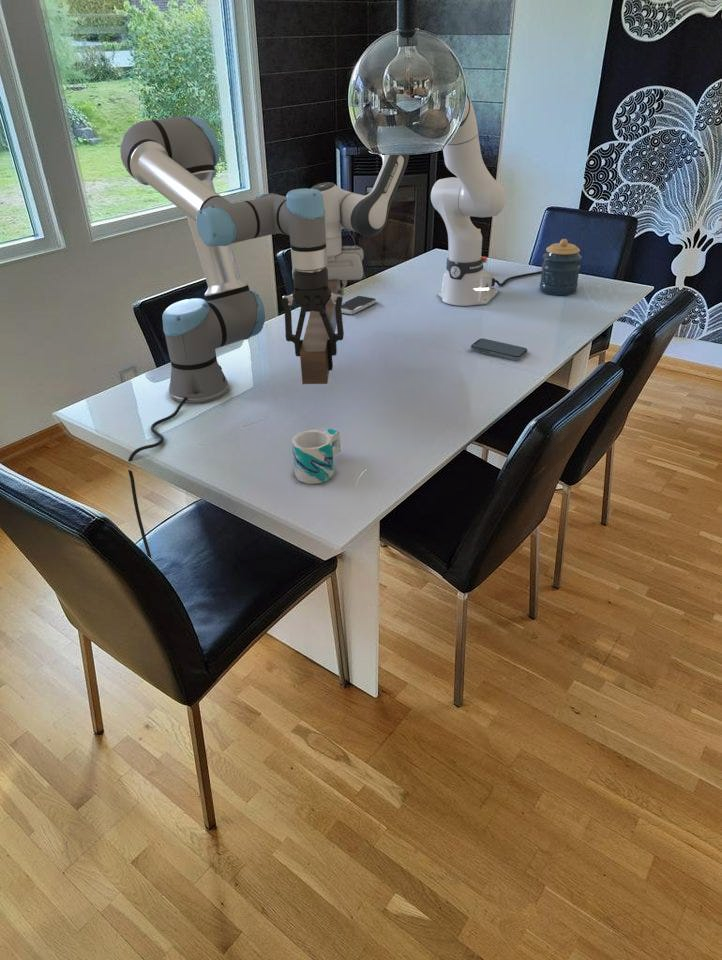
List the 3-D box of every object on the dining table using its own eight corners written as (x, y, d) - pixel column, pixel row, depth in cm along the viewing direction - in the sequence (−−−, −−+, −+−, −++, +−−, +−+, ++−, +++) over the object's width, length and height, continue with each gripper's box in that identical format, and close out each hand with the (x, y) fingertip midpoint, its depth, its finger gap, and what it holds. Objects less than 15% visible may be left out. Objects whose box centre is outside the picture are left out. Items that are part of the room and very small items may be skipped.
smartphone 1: (376, 298, 233) (351, 311, 223) (376, 302, 234) (352, 315, 224) (358, 295, 237) (333, 307, 227) (358, 299, 238) (333, 311, 228)
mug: (287, 476, 140) (283, 442, 136) (320, 451, 149) (318, 418, 144) (319, 487, 137) (316, 452, 132) (351, 460, 145) (350, 426, 140)
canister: (550, 297, 232) (557, 245, 222) (532, 287, 242) (537, 236, 233) (584, 293, 235) (591, 241, 225) (564, 283, 245) (571, 233, 236)
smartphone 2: (518, 357, 186) (469, 345, 193) (518, 362, 187) (469, 351, 194) (528, 347, 191) (480, 337, 198) (528, 353, 192) (480, 342, 199)
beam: (327, 383, 150) (325, 351, 146) (302, 384, 151) (299, 351, 146) (340, 296, 203) (339, 270, 198) (322, 296, 203) (320, 270, 199)
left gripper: (353, 262, 146) (357, 361, 159) (269, 264, 147) (279, 362, 160) (353, 271, 140) (356, 374, 153) (264, 274, 141) (275, 375, 153)
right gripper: (363, 242, 190) (365, 290, 197) (291, 244, 191) (296, 293, 198) (362, 248, 185) (364, 297, 192) (289, 250, 185) (293, 299, 193)
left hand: (317, 368), depth 156 cm, fingers closed on beam, 6 cm apart
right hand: (329, 295), depth 195 cm, fingers closed on beam, 5 cm apart
